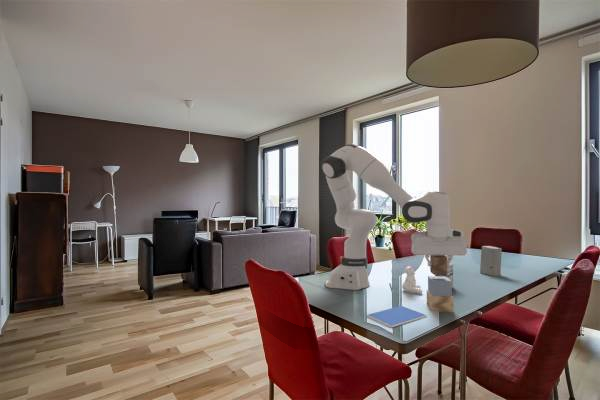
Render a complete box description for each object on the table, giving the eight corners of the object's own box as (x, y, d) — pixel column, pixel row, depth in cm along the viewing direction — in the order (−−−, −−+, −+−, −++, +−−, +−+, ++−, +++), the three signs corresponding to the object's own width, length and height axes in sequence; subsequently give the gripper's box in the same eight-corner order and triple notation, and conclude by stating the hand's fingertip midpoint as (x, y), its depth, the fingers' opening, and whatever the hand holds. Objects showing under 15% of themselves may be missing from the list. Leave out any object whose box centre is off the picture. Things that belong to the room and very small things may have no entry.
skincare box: (479, 273, 179) (479, 246, 179) (489, 272, 181) (488, 245, 181) (492, 276, 171) (492, 248, 171) (502, 275, 173) (502, 247, 173)
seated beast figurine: (423, 294, 139) (422, 268, 139) (403, 293, 141) (402, 267, 141) (419, 289, 148) (419, 264, 148) (401, 288, 150) (401, 263, 150)
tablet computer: (401, 308, 124) (401, 304, 124) (428, 318, 113) (428, 314, 113) (365, 317, 114) (365, 314, 114) (391, 330, 103) (391, 326, 103)
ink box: (444, 290, 146) (443, 265, 146) (434, 287, 150) (434, 263, 150) (453, 287, 150) (453, 263, 150) (444, 285, 155) (444, 261, 155)
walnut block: (433, 274, 120) (433, 256, 120) (430, 271, 125) (430, 254, 125) (447, 274, 119) (447, 257, 119) (443, 271, 124) (443, 254, 124)
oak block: (431, 311, 119) (431, 296, 119) (426, 304, 127) (426, 290, 127) (453, 312, 117) (453, 297, 117) (447, 305, 125) (447, 290, 125)
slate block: (432, 295, 119) (432, 280, 119) (428, 290, 126) (428, 276, 126) (451, 296, 118) (451, 281, 118) (446, 291, 125) (446, 276, 125)
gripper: (412, 232, 120) (413, 267, 120) (468, 232, 117) (468, 268, 117) (409, 230, 127) (409, 264, 127) (462, 230, 124) (462, 265, 124)
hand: (438, 266), depth 122 cm, fingers closed on walnut block, 5 cm apart
